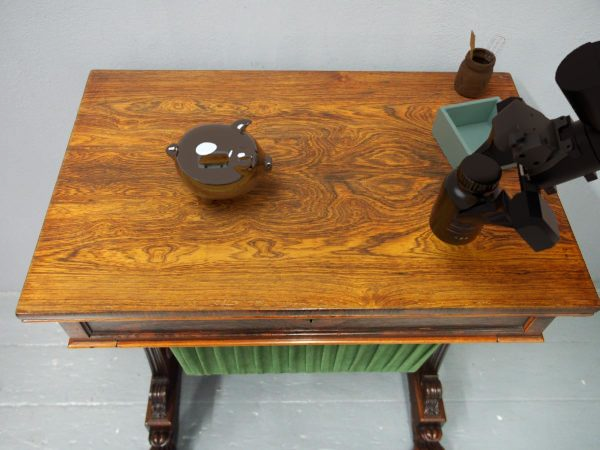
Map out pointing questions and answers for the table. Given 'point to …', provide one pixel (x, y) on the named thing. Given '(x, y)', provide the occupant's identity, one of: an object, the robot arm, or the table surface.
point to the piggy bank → (220, 160)
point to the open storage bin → (464, 128)
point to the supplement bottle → (464, 198)
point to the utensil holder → (475, 70)
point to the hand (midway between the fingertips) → (456, 195)
